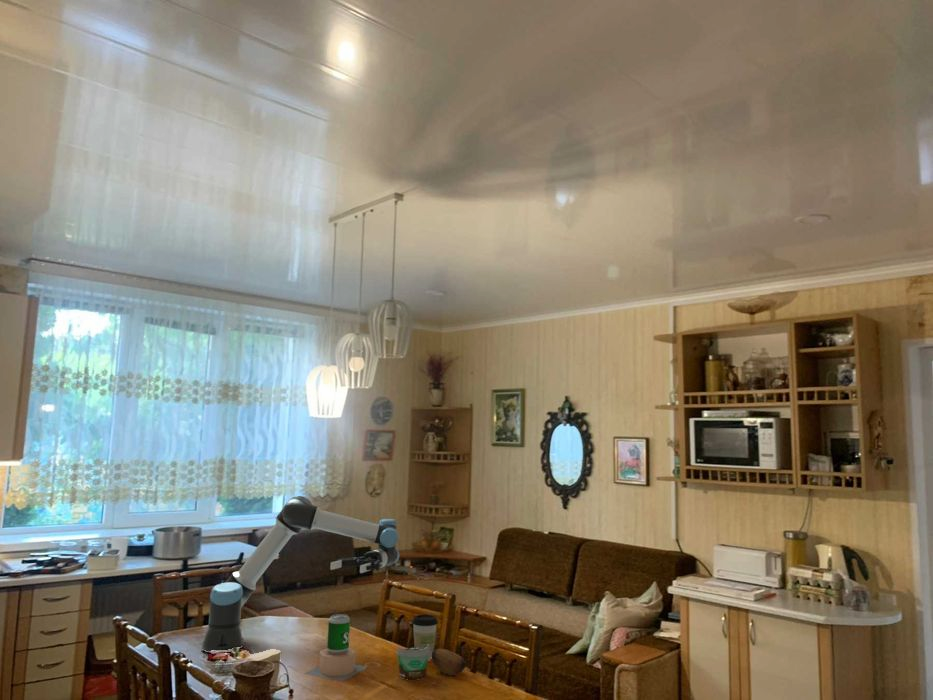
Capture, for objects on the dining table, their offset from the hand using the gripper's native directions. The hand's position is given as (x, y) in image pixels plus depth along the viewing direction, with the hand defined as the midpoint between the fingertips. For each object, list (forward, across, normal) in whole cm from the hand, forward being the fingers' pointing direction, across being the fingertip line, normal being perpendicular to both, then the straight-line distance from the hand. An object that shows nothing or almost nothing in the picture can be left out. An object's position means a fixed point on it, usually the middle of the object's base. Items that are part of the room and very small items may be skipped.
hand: (345, 567), depth 253 cm
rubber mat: (+18, -10, -32) cm, 38 cm away
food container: (+10, -37, -32) cm, 50 cm away
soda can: (+18, -10, -25) cm, 32 cm away
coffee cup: (-10, -30, -32) cm, 45 cm away
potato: (0, -45, -32) cm, 55 cm away
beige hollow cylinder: (+18, -10, -31) cm, 37 cm away
